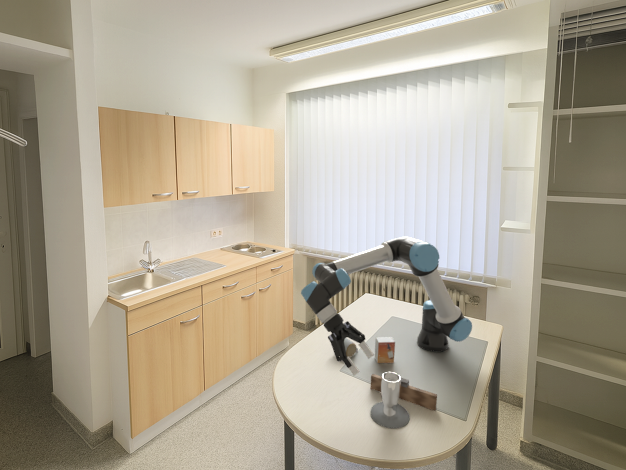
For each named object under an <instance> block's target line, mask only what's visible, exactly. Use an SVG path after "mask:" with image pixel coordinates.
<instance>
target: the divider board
mask: <svg viewBox="0 0 626 470" xmlns="http://www.w3.org/2000/svg"><path fill="white" fill-rule="evenodd" d="M381 381H382V376H381V375H379V374H374V373H372V374H371V375H370V389H371V390H373V391H376V392H379V393H381ZM399 400H402V401H404V402H405V401H406V402H408V403H410V404H413V405H416V406H420V407H421V408H426V409H428V410H430V411H433V412H436V409H437V404H438V403H437V401H438V394H436V393H434V392H430V391H427V390H425V389H421V388H419V387H414V386H413V385H410V380H409V379H407V378H404V377H401V391H400V396H399Z"/></svg>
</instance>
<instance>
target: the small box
mask: <svg viewBox="0 0 626 470" xmlns="http://www.w3.org/2000/svg"><path fill="white" fill-rule="evenodd" d="M374 344H375V345H374V359H375V360H376V363H377V364H393V363H395V348H396V341H395V340H394V337H392V336H379V337H378V336H376V337H375V343H374Z"/></svg>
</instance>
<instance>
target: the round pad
mask: <svg viewBox="0 0 626 470" xmlns="http://www.w3.org/2000/svg"><path fill="white" fill-rule="evenodd" d="M382 405H383V402H382V401H379V402H376V403H375V404H373V405H372V407H371V408H370V417H371V418H372V421H374V422H375V423H376V424H378V425H379V426H381V427H384V428H388V429H400V428H403V427H405V426H406V425H408V423H409V422H410V413H409V411H408V410H407V408H406V407H404V406H403V405H401V404H399V403H398V404H397V410H398V416H397V417H396V418H395V419H387V418H385V417H383V416H382V414H381V410H382Z"/></svg>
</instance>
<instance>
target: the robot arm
mask: <svg viewBox="0 0 626 470" xmlns="http://www.w3.org/2000/svg"><path fill="white" fill-rule="evenodd" d="M438 250H439V249H438V248H436V247H435V246H434V245H433V244H431V243H429V242H427V241H423V240H421V239H417V238H413V237H410V236H400V237H396V238H393V239H390V240H386V241H384V242H381V244H380V245H378V246H375V247H373V248H370V249H366V250H364V251H360V252H356V253H355V254H352V255H350V256H345V257H343V258H340V259H337V260H333V261H332V262H331V261H330V262H327V263H325V262H318V263H316V264H315V265H313V267H312V275H313V277H314V278H315V280H316V281H318V283H317V282H316V281H311V282H310V283H309V284H307V285H306V286H304V287H303V288H302V289H301V291H300V294H301V296H302V297H303V299H304V300H305V302H306V304H307V305H308V306H309V308H310V310H312V311H313V313H314V314H315V316H316V317H317V318H318V320H319V321H320V322H321V324H323V327H324V328H325V330H326V331H327V333H329V332H330V333H331V334H330V335H328V336H327V339H328V341H329V342H330V345H331V347H332V350H333V353H334V356H335V359H336V361H337V362H340V363H341V362H342V363H343V364H344V365H345V366H346V368H347V369H348V370H349V372H350V373H351V374H352V375H353V376H355V375H357V374H359V373H361V372H360V370H359V369H358V367H357V366H356V364H355V363H354V362H353V360H352V359H351V357H349V356H348V357H347V355H346V350H345V345H344V340H345V338H347V339H349V340H351V341H354V342H356V343H358V346H359V348H360V349H361V350H362V351H363V353H364V355H365V356H366V357H367V359H371V358H372V357H375V353H373V351H372V350H371V349H370V347H369V346H368V343H366V341H365V340H366V335H365V334H363V333H362V332H361V331H360V330H358V329H357V328H356V327H354V326H353V325H352V323H350V321H348V320H347V321H345V322H344V319H343V317H342V315H340V313H337V312H338V310H337V309H336V307H335V306H334V305H333V304H332V302H331V301H330V300H331V299H332V298H334V297H335V296H336V295H338V294H339V293H340V292H341V291H343V290H345V289H346V288H347V287H348V286H349V285H350V284H351V283H352V280H351V277H350V276H349V275H351V274H353V273H357V272H360V271H362V270H366V269H369V268H372V267H374V266H377V265H380V264H383V263H385V262H387V263H390V264H391V263H392V262H402V263H404V264H406V265H408V266H409V267H408V268H410V270H411V273H412V275H413V276H415V277H418V278H419V280H420V283H421V285H422V286H423V288H424V290H425V292H426V295H427V296H428V298H429V300H425V301H424V302H423V307H422V320H421V328H420V332H419V333H418V336H417V339H416V340H417V341H416V343H417V345H418V346H419V347H420V348H422V349H424V350H427V351H429V352H436V353H437V352H445V351H446V350H448V349H449V340H452V341H454V342H459V343H460V342H462V341H465V340H467V338H468V337H469V336H470V334H471V332H472V330H473V324H472V323H473V322H472V320H470V319H469V318H468V317H465V315H464V314H463V311H462V310H461V308H460V307H459V306H457V305H456V304H455V302H454V301H453V299H452V297H451V295H450V292H449V291H448V288H447V287H446V284H445V282H444V280H443V278H442V275H440V274H441V273H440V272H439V262H440V260H439V259H440V254H439V251H438ZM448 338H449V340H448Z"/></svg>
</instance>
